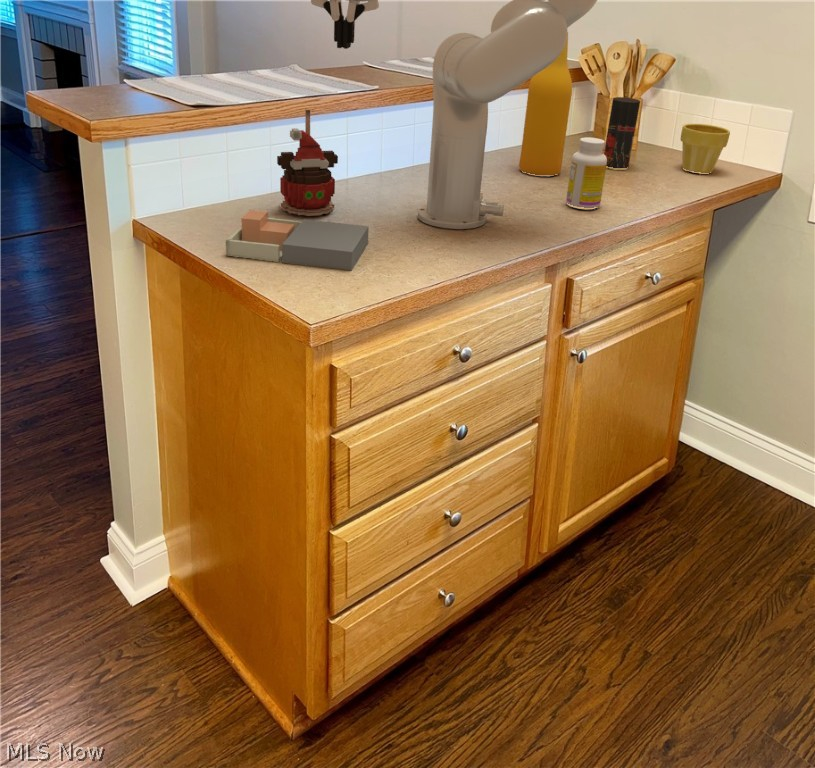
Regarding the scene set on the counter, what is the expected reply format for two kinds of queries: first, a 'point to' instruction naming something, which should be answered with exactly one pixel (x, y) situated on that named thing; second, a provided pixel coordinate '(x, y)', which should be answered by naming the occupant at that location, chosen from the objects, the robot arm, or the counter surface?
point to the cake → (307, 175)
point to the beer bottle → (547, 118)
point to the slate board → (325, 244)
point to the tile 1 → (253, 225)
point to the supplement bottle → (587, 174)
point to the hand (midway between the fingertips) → (343, 47)
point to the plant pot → (702, 146)
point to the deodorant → (621, 131)
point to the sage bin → (255, 245)
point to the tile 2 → (275, 233)
